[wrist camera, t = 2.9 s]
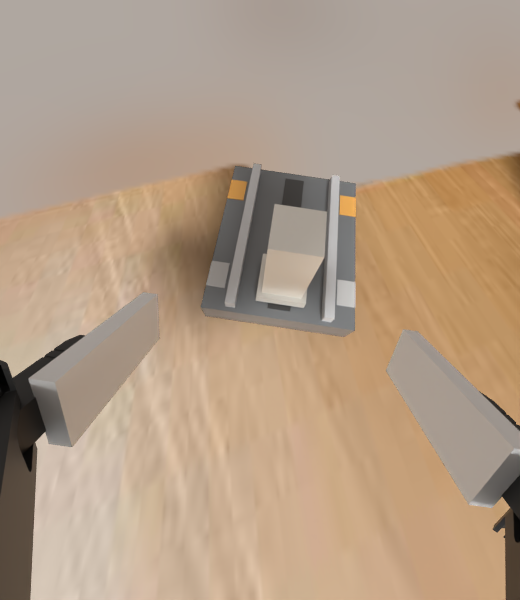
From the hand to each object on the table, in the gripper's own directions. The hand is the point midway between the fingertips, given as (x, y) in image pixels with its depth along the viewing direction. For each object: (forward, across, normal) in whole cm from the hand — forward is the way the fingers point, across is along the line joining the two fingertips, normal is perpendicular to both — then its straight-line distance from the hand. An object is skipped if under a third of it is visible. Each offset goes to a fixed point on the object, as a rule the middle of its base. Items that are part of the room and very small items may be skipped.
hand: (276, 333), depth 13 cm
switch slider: (+14, +1, -2) cm, 14 cm away
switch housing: (+20, +1, 0) cm, 20 cm away
